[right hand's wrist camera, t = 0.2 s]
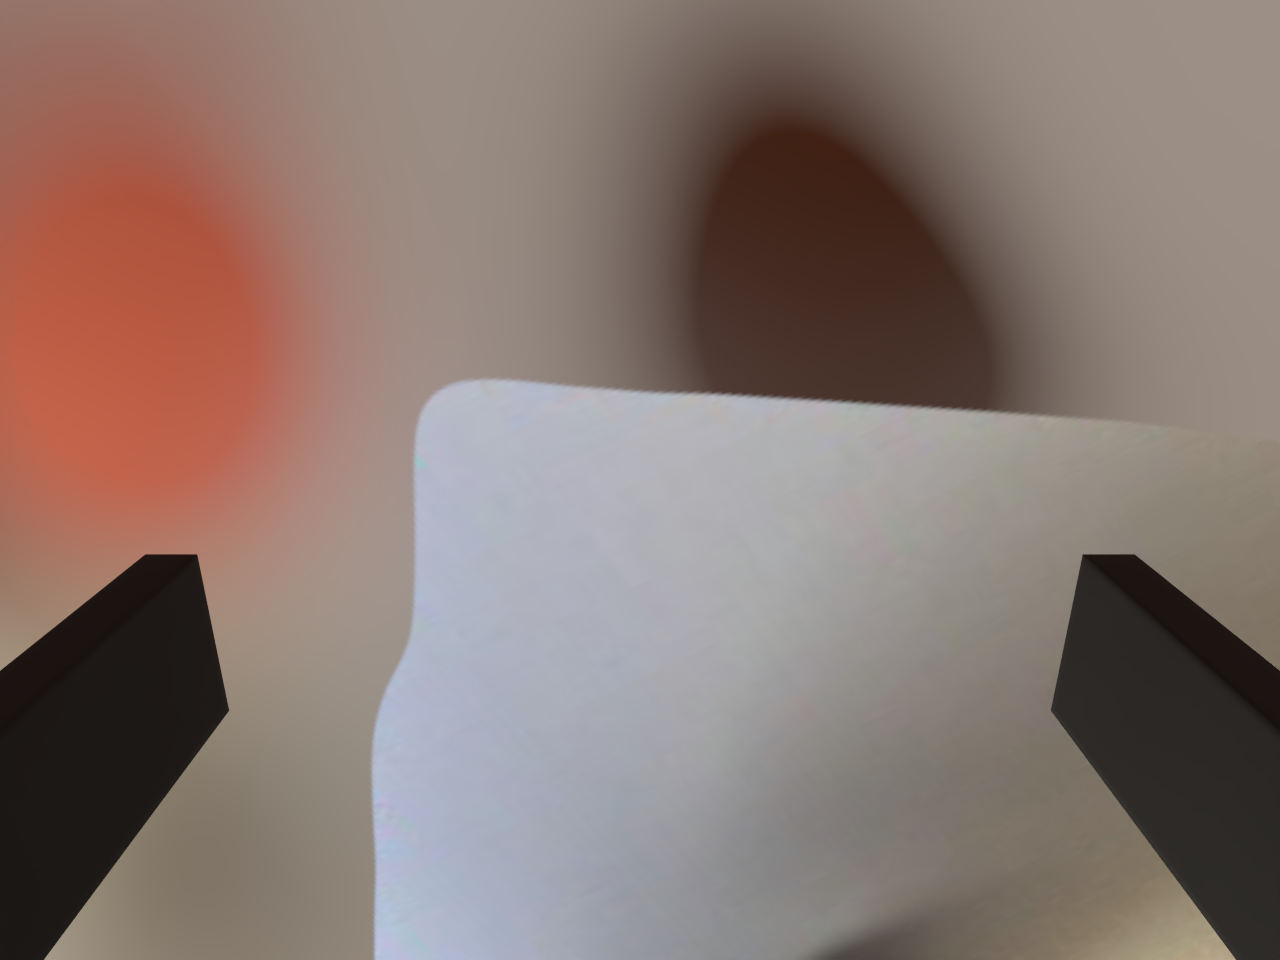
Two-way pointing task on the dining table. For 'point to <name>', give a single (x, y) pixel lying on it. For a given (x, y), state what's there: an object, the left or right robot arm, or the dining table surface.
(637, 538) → the dining table surface
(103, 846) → the right robot arm
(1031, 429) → the dining table surface
